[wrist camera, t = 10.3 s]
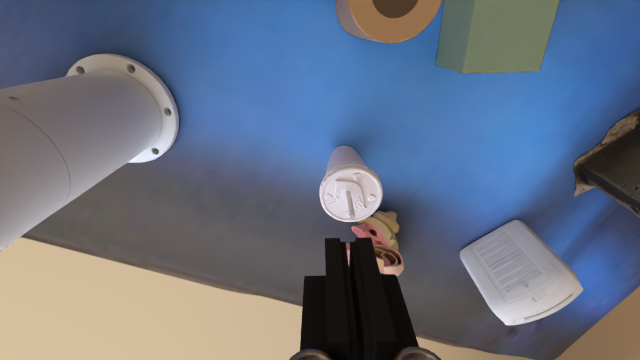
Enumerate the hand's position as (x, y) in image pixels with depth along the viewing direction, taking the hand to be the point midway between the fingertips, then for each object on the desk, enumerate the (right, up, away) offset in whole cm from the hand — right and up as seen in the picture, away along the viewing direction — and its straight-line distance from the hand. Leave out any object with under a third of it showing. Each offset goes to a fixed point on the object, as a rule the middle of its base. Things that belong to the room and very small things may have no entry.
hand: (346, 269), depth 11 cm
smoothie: (+2, +6, +28) cm, 28 cm away
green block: (+15, +21, +20) cm, 33 cm away
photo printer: (+25, -6, +34) cm, 42 cm away
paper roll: (+8, +21, +19) cm, 29 cm away
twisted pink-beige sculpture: (+6, -5, +33) cm, 34 cm away
